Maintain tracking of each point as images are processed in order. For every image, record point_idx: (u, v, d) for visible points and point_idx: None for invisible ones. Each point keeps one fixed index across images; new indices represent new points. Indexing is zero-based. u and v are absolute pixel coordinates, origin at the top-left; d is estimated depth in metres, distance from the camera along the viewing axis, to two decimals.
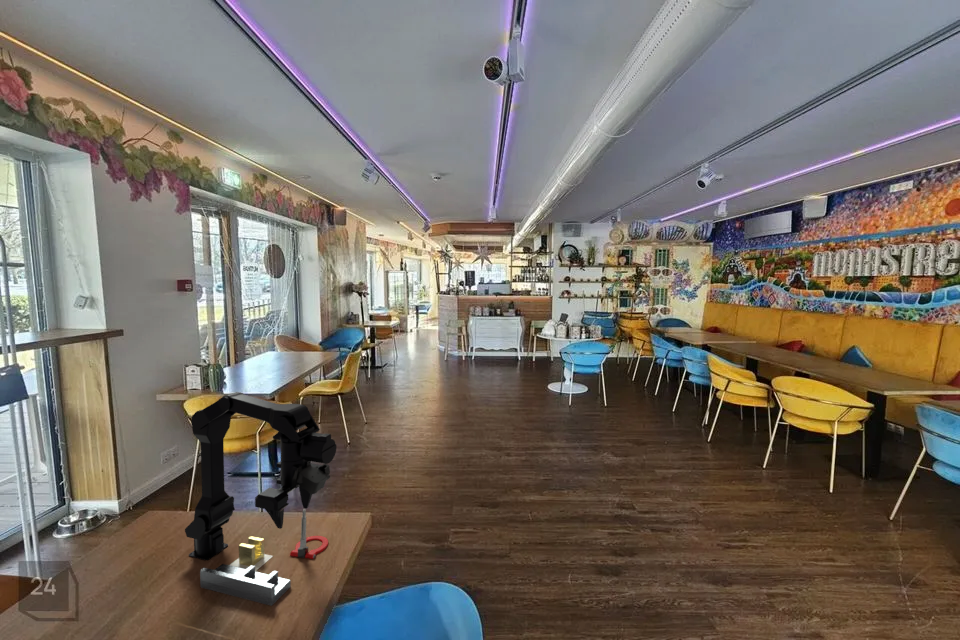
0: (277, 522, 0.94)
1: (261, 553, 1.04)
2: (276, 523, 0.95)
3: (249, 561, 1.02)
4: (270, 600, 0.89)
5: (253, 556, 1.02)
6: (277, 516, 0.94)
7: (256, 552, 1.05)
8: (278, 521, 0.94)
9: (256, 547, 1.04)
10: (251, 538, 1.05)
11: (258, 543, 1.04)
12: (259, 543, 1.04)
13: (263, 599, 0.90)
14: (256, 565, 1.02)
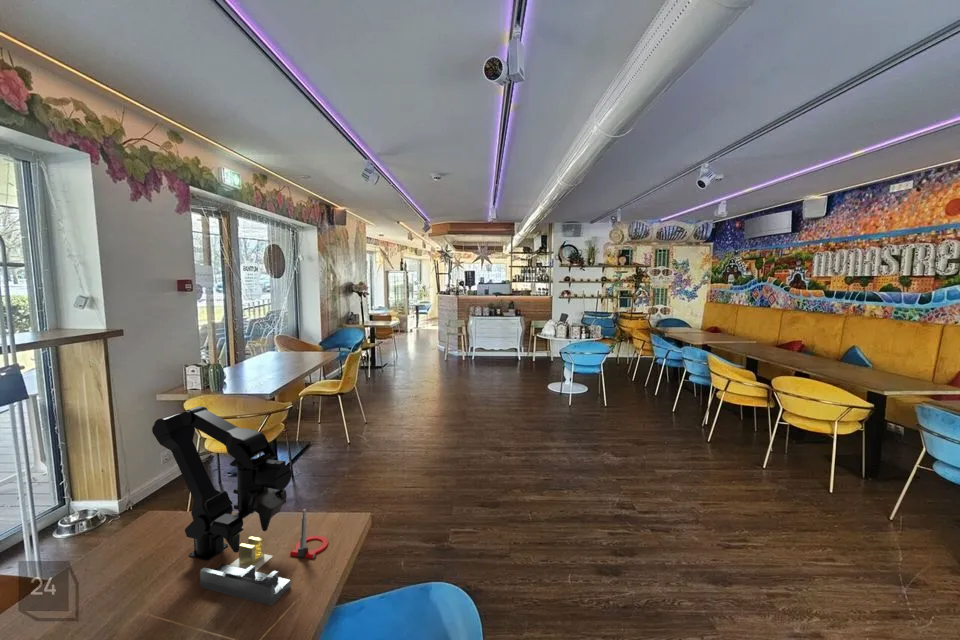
0: (233, 546, 0.98)
1: (261, 553, 1.04)
2: (232, 547, 0.99)
3: (249, 561, 1.02)
4: (270, 600, 0.89)
5: (253, 556, 1.02)
6: (233, 541, 0.98)
7: (256, 552, 1.05)
8: (234, 545, 0.98)
9: (256, 547, 1.04)
10: (251, 538, 1.05)
11: (258, 543, 1.04)
12: (259, 543, 1.04)
13: (263, 599, 0.90)
14: (256, 565, 1.02)
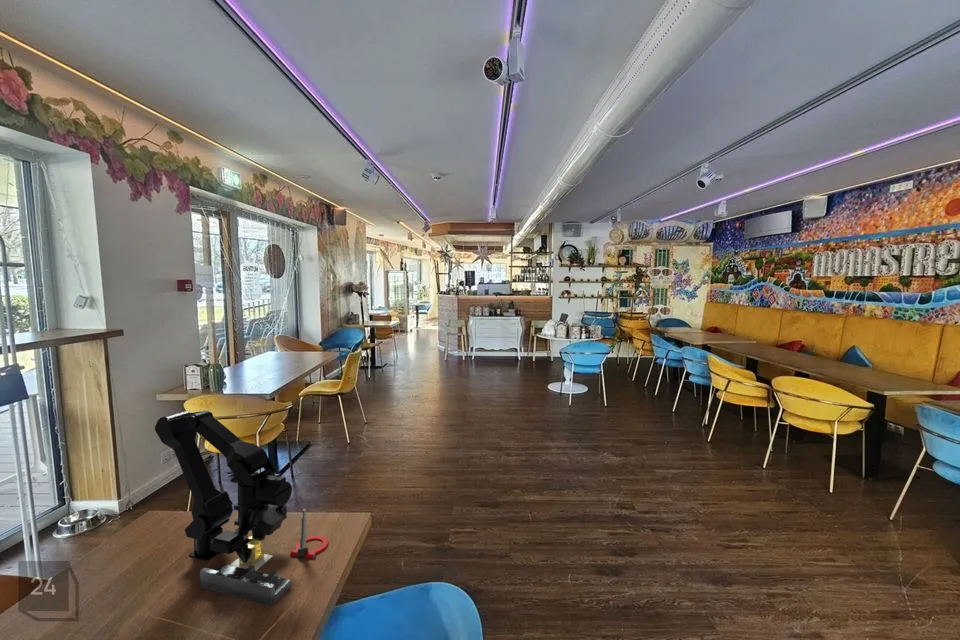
0: (242, 557, 1.01)
1: (261, 553, 1.04)
2: (241, 558, 1.01)
3: (249, 561, 1.02)
4: (270, 600, 0.89)
5: (253, 556, 1.02)
6: (242, 551, 1.00)
7: (256, 552, 1.05)
8: (243, 556, 1.01)
9: (256, 547, 1.04)
10: (251, 538, 1.05)
11: (258, 543, 1.04)
12: (259, 543, 1.04)
13: (263, 599, 0.90)
14: (256, 565, 1.02)
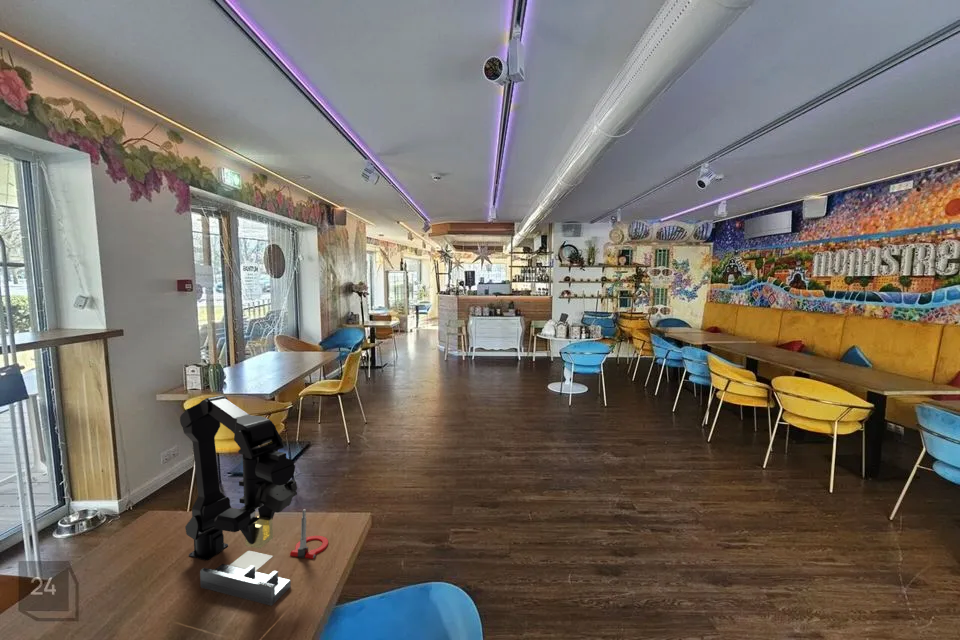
0: (249, 537, 0.92)
1: (269, 534, 0.95)
2: (248, 538, 0.92)
3: (256, 542, 0.93)
4: (270, 600, 0.89)
5: (261, 536, 0.93)
6: (248, 531, 0.91)
7: (264, 533, 0.95)
8: (249, 536, 0.92)
9: (264, 527, 0.95)
10: None
11: (266, 523, 0.95)
12: (267, 523, 0.95)
13: (263, 599, 0.90)
14: (256, 565, 1.02)
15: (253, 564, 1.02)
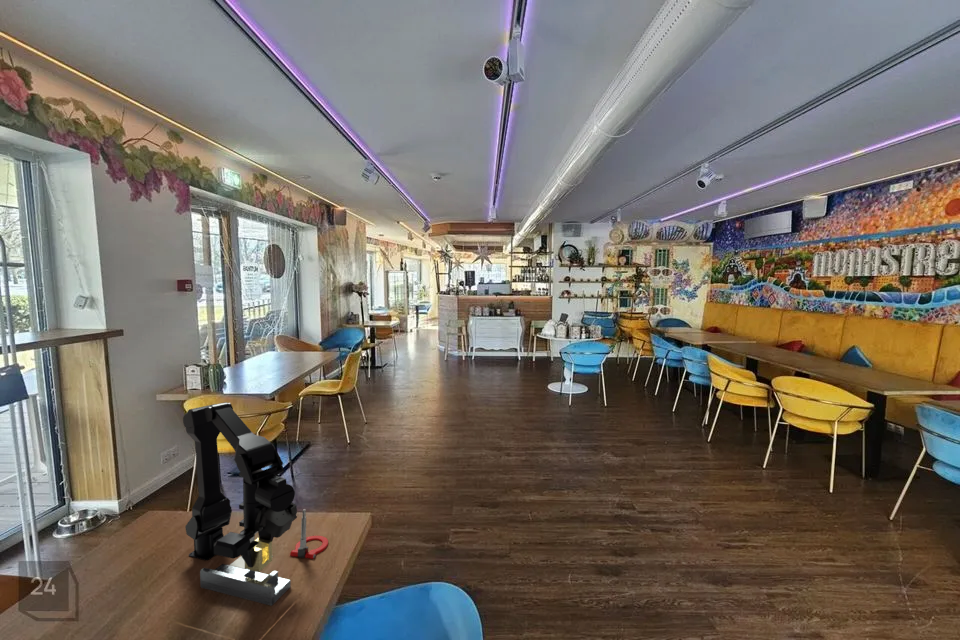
0: (248, 561, 0.91)
1: (269, 557, 0.95)
2: (247, 562, 0.92)
3: (256, 566, 0.92)
4: (270, 600, 0.89)
5: (260, 560, 0.92)
6: (247, 555, 0.91)
7: (263, 556, 0.95)
8: (249, 560, 0.91)
9: (263, 550, 0.95)
10: (258, 540, 0.96)
11: (265, 546, 0.95)
12: (267, 546, 0.95)
13: (263, 599, 0.90)
14: None
15: None
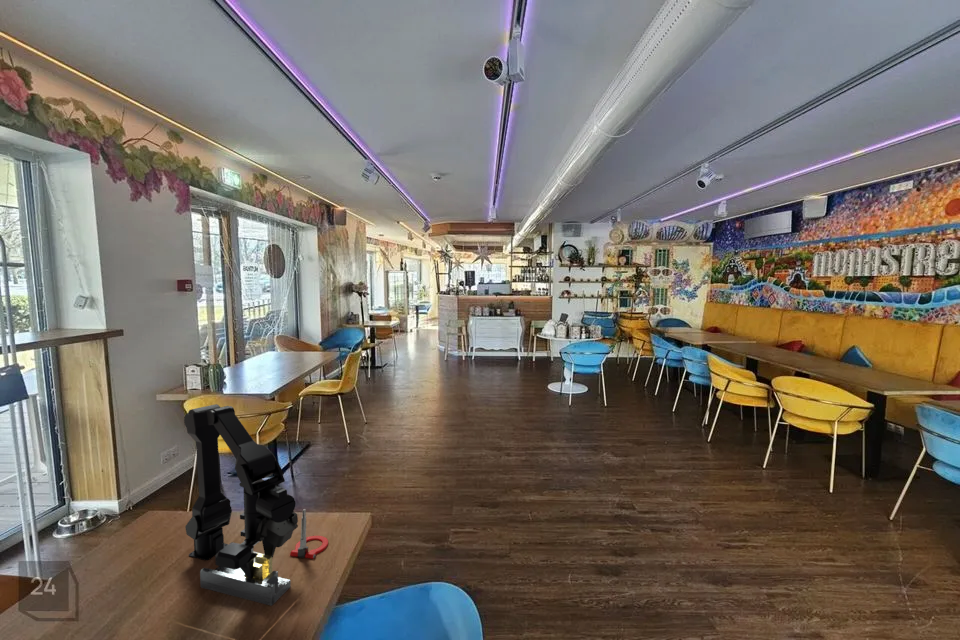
0: (247, 573, 0.91)
1: (269, 572, 0.95)
2: (246, 573, 0.92)
3: None
4: (270, 600, 0.89)
5: (260, 576, 0.93)
6: (247, 567, 0.91)
7: (264, 571, 0.95)
8: (248, 572, 0.91)
9: (264, 566, 0.95)
10: (258, 556, 0.96)
11: (265, 562, 0.95)
12: (267, 562, 0.95)
13: (263, 599, 0.90)
14: None
15: None
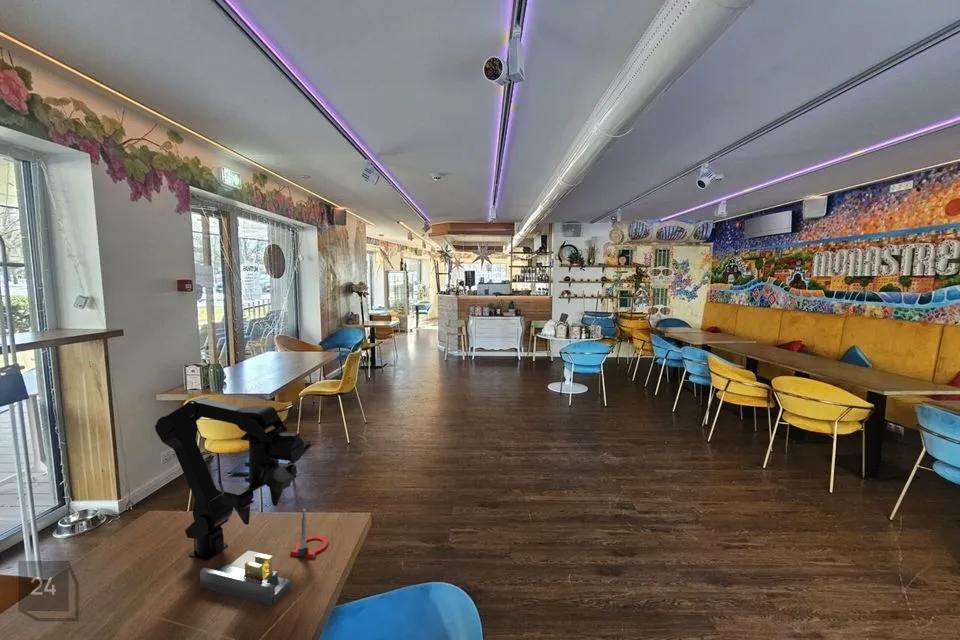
0: (243, 518, 0.99)
1: (269, 572, 0.95)
2: (243, 519, 0.99)
3: None
4: (270, 600, 0.89)
5: (260, 576, 0.93)
6: (243, 513, 0.98)
7: (264, 571, 0.95)
8: (244, 517, 0.99)
9: (264, 566, 0.95)
10: (258, 556, 0.96)
11: (265, 562, 0.95)
12: (267, 562, 0.95)
13: (263, 599, 0.90)
14: None
15: None
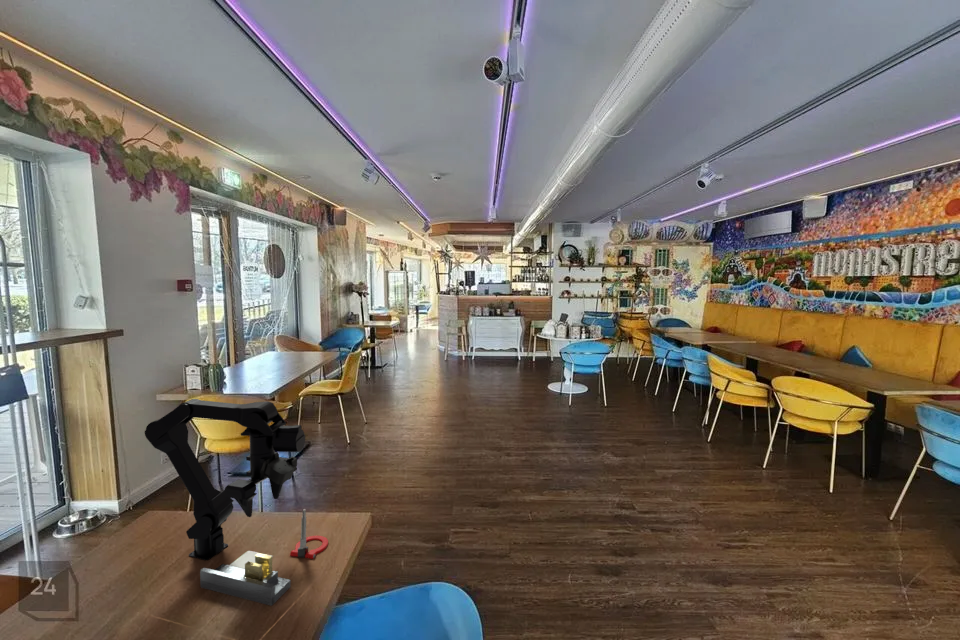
0: (246, 511, 1.02)
1: (269, 572, 0.95)
2: (245, 512, 1.02)
3: None
4: (270, 600, 0.89)
5: (260, 576, 0.93)
6: (246, 505, 1.01)
7: (264, 571, 0.95)
8: (247, 510, 1.01)
9: (264, 566, 0.95)
10: (258, 556, 0.96)
11: (265, 562, 0.95)
12: (267, 562, 0.95)
13: (263, 599, 0.90)
14: None
15: None
